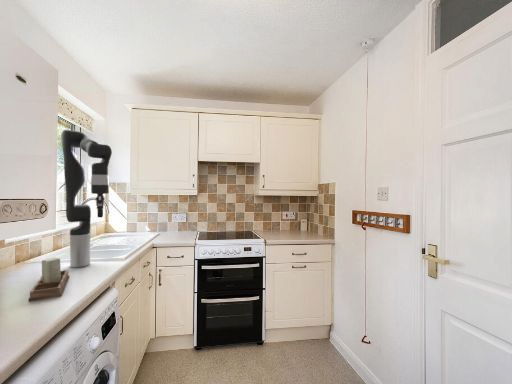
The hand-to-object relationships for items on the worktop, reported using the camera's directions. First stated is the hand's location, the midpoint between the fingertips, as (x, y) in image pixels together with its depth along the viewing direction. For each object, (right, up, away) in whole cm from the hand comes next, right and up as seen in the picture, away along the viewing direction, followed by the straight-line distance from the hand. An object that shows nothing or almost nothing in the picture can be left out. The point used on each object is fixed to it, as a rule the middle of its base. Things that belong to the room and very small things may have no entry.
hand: (100, 216), depth 134 cm
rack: (-9, -28, -21) cm, 36 cm away
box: (-9, -27, -21) cm, 35 cm away
